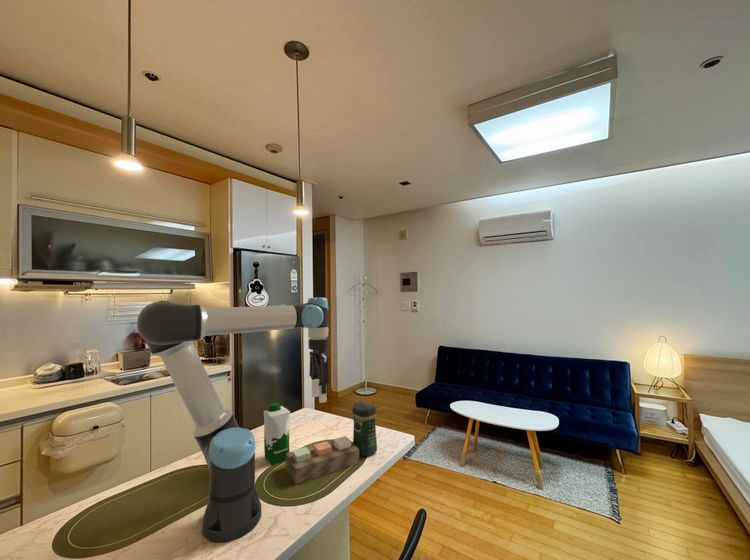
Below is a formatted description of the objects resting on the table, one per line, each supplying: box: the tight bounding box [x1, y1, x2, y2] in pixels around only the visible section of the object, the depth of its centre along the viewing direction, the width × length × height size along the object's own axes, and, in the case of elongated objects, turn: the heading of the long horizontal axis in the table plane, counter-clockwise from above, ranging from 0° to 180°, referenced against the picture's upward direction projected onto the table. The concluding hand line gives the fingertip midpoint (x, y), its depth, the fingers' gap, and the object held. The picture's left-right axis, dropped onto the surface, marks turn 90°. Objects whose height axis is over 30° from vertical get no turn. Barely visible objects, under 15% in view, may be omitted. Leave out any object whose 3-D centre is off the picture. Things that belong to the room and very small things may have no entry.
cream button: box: [333, 435, 352, 450], centre depth 120 cm, size 5×5×4 cm
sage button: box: [291, 446, 311, 463], centre depth 111 cm, size 5×5×4 cm
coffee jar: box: [351, 401, 378, 457], centre depth 126 cm, size 10×8×19 cm
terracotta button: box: [313, 440, 332, 457], centre depth 116 cm, size 5×5×4 cm
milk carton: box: [263, 402, 291, 466], centre depth 121 cm, size 9×9×20 cm
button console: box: [285, 439, 360, 485], centre depth 116 cm, size 24×12×5 cm, turn 121°
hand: (319, 399), depth 119 cm, fingers open, 7 cm apart
